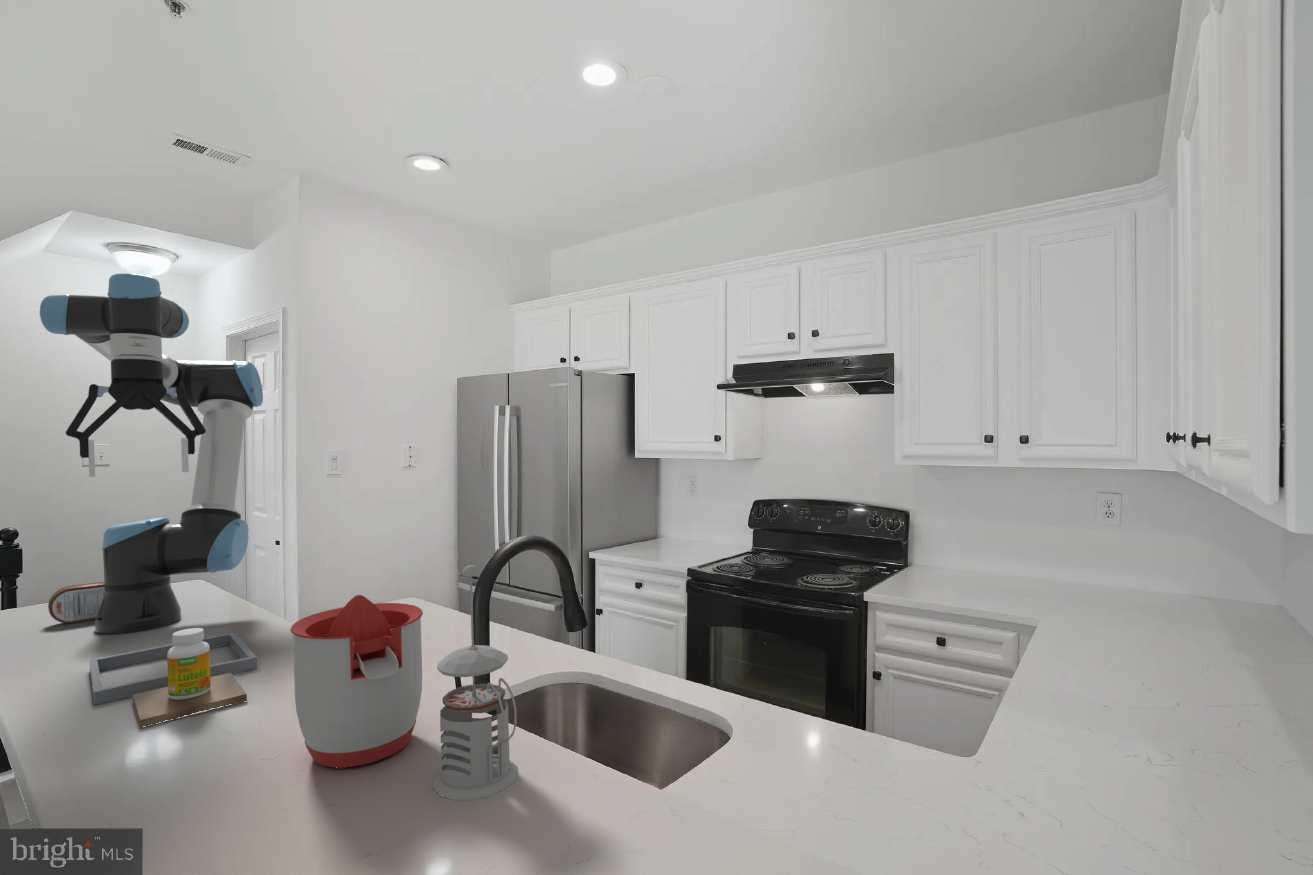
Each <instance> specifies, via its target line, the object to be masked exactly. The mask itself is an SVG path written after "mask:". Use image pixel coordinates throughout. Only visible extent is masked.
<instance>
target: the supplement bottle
mask: <svg viewBox="0 0 1313 875" xmlns="http://www.w3.org/2000/svg"><path fill="white" fill-rule="evenodd" d="M171 636H172V640H171V641H172V644H175V646H174V647H172V648H171V649H170V650H169V651H168V654H167V657H166V658H167V660H166V662H167V675H168V695H169V698H170V699H173V700H185V699H191V698H194V697H198V696H201V695H203V694H205V693H207V692H208V691H209V690H210V688H211V682H210V665H211V652H210V651H211V648H210V647H209V644H208V643H206V642H203V641H202V639H204V638H205V631H204V628H200V627H193V628H185V629H181V630H178V631H175V632H173V633H172V635H171Z"/></svg>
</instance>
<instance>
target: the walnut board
mask: <svg viewBox="0 0 1313 875" xmlns="http://www.w3.org/2000/svg"><path fill="white" fill-rule="evenodd" d="M210 682H211V688H210V690H209V691H208V692H207V693H205V694H203V695H201V696H198V697H194V698H191V699H185V700H173V699H170V698H169V695H168V687H164V688H159V689H155V690H151V691H146V692H142V693H137V694H133V696H132V703H133V708H134V711H135V714H137V715H136V717H137V722H138V721H139V722H138V725H139V724H140V725H139V728H140V729H143V728H142V727H143V726H148V725H151V724H156V723H159V722H163V721H165V720H171V719H176V718H178V717H182V716H184V715H190V714H192V713H196V712H199V711H204V710H209V709H211V708H217V707H220V706H226V705H229V704H235V705H237V704H236V703H239V704H242V702H243V703H245V702H244V701H247V702H248V694H247V692H246V690H245V689H244V688H243V687H242V686H241V684H240V683H239V681H238V680H237V679H236V678H235V676H234V674H231V673H226V674H222V675H217V676H213V677H210ZM176 720H177V719H176ZM156 725H157V724H156ZM148 727H149V726H148Z"/></svg>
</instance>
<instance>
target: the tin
mask: <svg viewBox="0 0 1313 875" xmlns="http://www.w3.org/2000/svg"><path fill="white" fill-rule="evenodd" d="M104 594H105V584H104V581H98V582H92V583H81V584H72V585H67V586H64V587H62V588H60V589H58V590H57V591H55V592H54V593H53V595H52V596H51V597H50V598H49V601H48V604H47V605H48V606H47V607H48V613H49V614H50V617H52V619H54V621H57V622H58V623H61V624H62V623H63V624H75V623H81V622H87V621H95V620H96V617H97V614H98V611H99V609H100V606H101V603H102V600H103V598H104Z"/></svg>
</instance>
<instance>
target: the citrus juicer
mask: <svg viewBox="0 0 1313 875" xmlns="http://www.w3.org/2000/svg"><path fill="white" fill-rule="evenodd" d="M423 614H424V613H423V610H422V609H421V608H420V607H419V606H416V605H414V604H410V603H400V602H379V603H378V602H377V603H373V602H372V601H371V600H370V599H368V598H367V597H365V596H364V595H363V594H355V595H354V596H353V597H351V598H350V600H349V601H348V602H347V603H346V604H345V605H344V606H343V607H338V608H332V609H328V610H324V611H320V612H317V613H314V614H310V615H308V616H305V617H302V619H299V620H297V621H296V622H294V623H293V624H292V625H291V627H290V629H289V631H290V632H291V634H292V637H293V638H292V639H293V640H292V646H293V674H294V676H293V677H294V678H293V680H294V700H295V701H294V702H295V709H296V710H295V711H296V715H297V720H298V725H299V728H300V731H301V733H302V734H301V735H302V736H303V738H304V744H305V748H306V749H307V750H308V753H309V755H310V756H311V758H312V760H313V761H314V762H316V763H317V764H319V765H320V766H323V767H330V768H334V767H337V768H344V767H347V768H351V767H359V766H363V765H368V764H371V763H375V762H378V761H380V760H384V759H385V758H389V757H390V756H392V755H394V754H396V753H398V752H400V751H402V750H403V749H404V747H406V745H407V744H408V743H409V742H410V739H411V737H412V735H413V731H414V729H415V725H416V724H417V718H418V717H417V716H418V713H419V709H420V705H421V699H422V698H421V697H422V691H423V657H422V656H423V655H422V653H423V652H422V648H423V647H422V622H421V620H422V616H423ZM344 769H345V768H344Z"/></svg>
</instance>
